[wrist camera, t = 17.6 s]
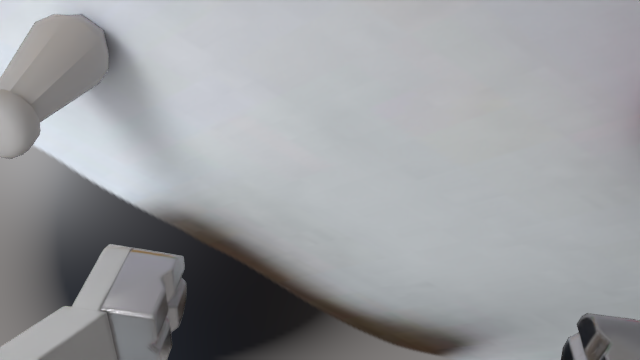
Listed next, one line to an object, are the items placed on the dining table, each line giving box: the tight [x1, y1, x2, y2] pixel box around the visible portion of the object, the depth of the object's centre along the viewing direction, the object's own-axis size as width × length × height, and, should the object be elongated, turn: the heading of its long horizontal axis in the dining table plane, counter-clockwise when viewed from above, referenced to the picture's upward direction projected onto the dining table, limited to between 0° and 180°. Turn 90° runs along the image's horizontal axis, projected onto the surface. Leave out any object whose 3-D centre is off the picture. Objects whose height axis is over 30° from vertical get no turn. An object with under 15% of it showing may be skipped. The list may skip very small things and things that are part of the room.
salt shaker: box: [0, 14, 109, 159], centre depth 39 cm, size 6×6×13 cm
